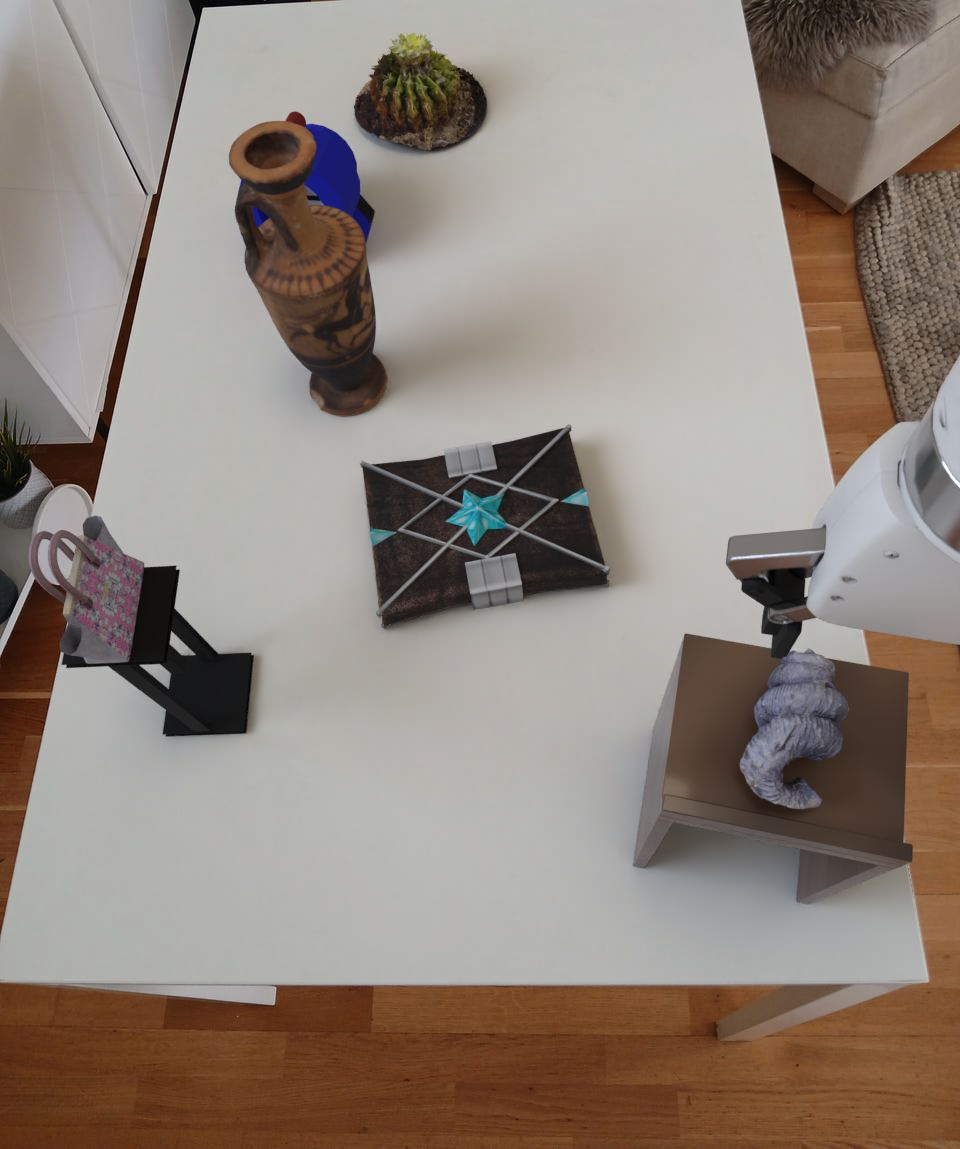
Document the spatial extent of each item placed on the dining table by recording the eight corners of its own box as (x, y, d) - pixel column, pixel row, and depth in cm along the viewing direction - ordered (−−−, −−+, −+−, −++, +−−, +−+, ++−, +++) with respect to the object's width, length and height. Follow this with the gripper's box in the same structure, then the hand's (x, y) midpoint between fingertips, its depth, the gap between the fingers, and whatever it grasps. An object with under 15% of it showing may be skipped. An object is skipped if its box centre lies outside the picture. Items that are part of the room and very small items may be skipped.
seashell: (778, 821, 55) (798, 671, 59) (854, 820, 51) (871, 658, 55) (716, 790, 53) (742, 636, 57) (791, 786, 49) (813, 620, 53)
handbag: (244, 748, 81) (88, 619, 54) (163, 751, 82) (-32, 625, 55) (255, 639, 86) (115, 470, 59) (178, 642, 86) (4, 476, 59)
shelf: (819, 758, 77) (918, 663, 56) (808, 904, 72) (913, 862, 51) (653, 726, 79) (687, 623, 58) (632, 866, 74) (661, 810, 53)
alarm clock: (256, 267, 106) (212, 159, 93) (282, 191, 111) (244, 79, 98) (357, 274, 105) (327, 165, 91) (379, 196, 110) (353, 82, 96)
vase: (407, 347, 99) (350, 101, 72) (390, 429, 95) (324, 200, 68) (311, 342, 101) (220, 99, 74) (290, 423, 96) (186, 195, 69)
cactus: (508, 85, 116) (504, 10, 108) (454, 168, 111) (445, 96, 102) (390, 56, 121) (377, -19, 112) (332, 135, 115) (313, 63, 106)
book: (383, 631, 85) (373, 610, 81) (363, 480, 92) (353, 453, 88) (610, 588, 85) (613, 565, 81) (572, 441, 93) (573, 412, 88)
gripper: (1300, 406, 31) (1058, 606, 46) (774, 351, 34) (711, 556, 49) (1339, 607, 28) (1065, 749, 43) (757, 527, 31) (695, 687, 46)
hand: (877, 647), depth 46 cm, fingers open, 9 cm apart
